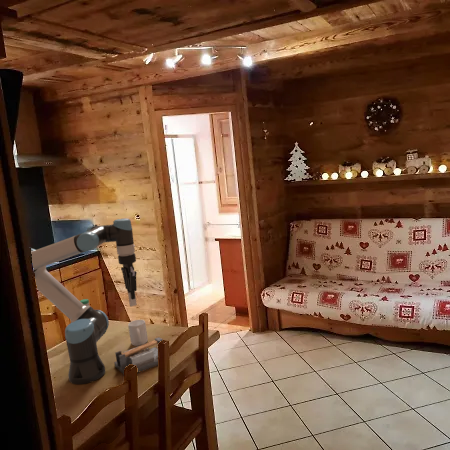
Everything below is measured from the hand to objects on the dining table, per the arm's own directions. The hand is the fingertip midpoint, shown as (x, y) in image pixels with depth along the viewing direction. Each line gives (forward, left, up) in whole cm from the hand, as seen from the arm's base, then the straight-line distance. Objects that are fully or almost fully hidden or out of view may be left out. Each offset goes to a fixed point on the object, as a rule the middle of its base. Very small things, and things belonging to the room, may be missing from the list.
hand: (133, 305), depth 200 cm
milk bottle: (-9, +46, -25) cm, 54 cm away
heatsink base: (-2, -6, -25) cm, 26 cm away
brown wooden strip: (-3, -6, -19) cm, 20 cm away
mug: (+6, +15, -25) cm, 30 cm away
